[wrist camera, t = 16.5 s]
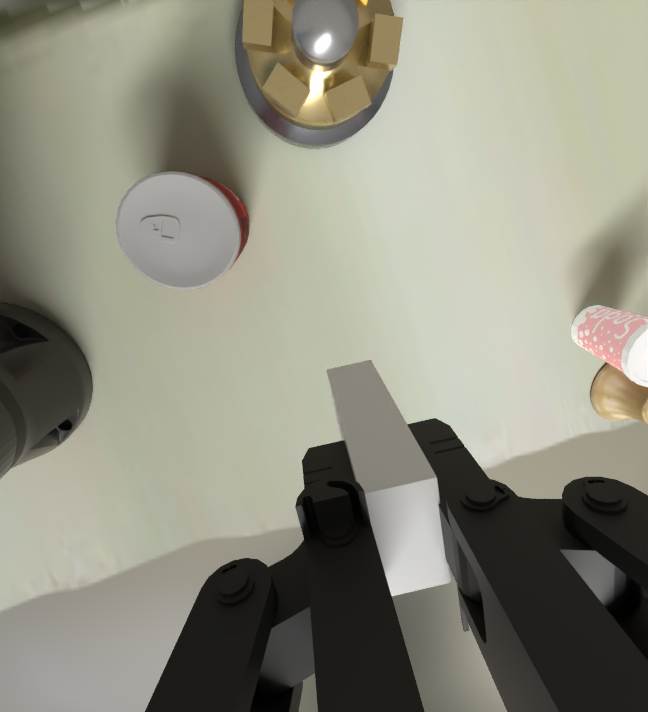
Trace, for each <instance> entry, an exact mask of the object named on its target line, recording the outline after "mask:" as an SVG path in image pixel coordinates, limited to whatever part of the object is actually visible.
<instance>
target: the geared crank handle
mask: <svg viewBox="0 0 648 712" xmlns="http://www.w3.org/2000/svg"><path fill="white" fill-rule="evenodd" d="M402 24H403V18H401V17H395V16H394V14H393V10H392V6H391V2H390V0H244V7H243V35H242V43H243V47H244V49H247V53H248V58H249V63H250V67H251V71H252V75H253V78H254V81H255V84H256V86H257V88H258V90H259V92H260V94H261V96H262V97H263V99H264V100H265V102H266V103H267V104H268V105H269V107H270V108H271V109H272V110H273V111H274V112H275V113H276V114H277V115H278V116H280V117H281V118H282V119H284V120H285V121H287V122H289V123H291V124H293V125H295V126H298V127H300V128H304V129H309V130H327V129H331V128H335V127H338V126H340V125H343V124H344V123H346V122H348V121H350V120H351V119H352V118H354V117H355V116H356V115H357V114H358V113H359V112H360V111H361V110H363V109H365V108H367V107H368V106H369V105H370V104H371V100H372V99H373V98H374V96H375V95H376V94H377V92H378V91H379V90H380V88H381V86H382V85H383V83H384V81H385V79H386V77H387V75H388V72H389V71H392V70H393V69H394V68H395V67H396V66H397V61H398V53H399V46H400V38H401V31H402Z"/></svg>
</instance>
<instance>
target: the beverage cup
mask: <svg viewBox="0 0 648 712" xmlns="http://www.w3.org/2000/svg"><path fill="white" fill-rule="evenodd" d="M571 334H572V337H573V340H574V341H575V342H576V343H577V344H578V345H579V346H581V347H582V348H584V349H586V350H587V351H589V352H591V353H592V354H594V355H596V356H597V357H599V358H600V359H602V360H604V361H605V362H607V363H609V364H610V365H612V366H614V367H615V368H617V369H619V370H620V371H622V372H623V373H624V374H625V375H626V376H627V377H628V378H629V379H630V380H631V381H634V382H635V383H636V384H638V385H641V386H645V387H648V317H646V316H642V315H638V314H634V313H629V312H625V311H621V310H617V309H613V308H609V307H605V306H601V305H596V306H590V307H588V308H586V309H584V310H582V311H581V312H580V313H579V314H578V315H577V316H576V318H575V320H574V322H573V324H572V330H571Z"/></svg>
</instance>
